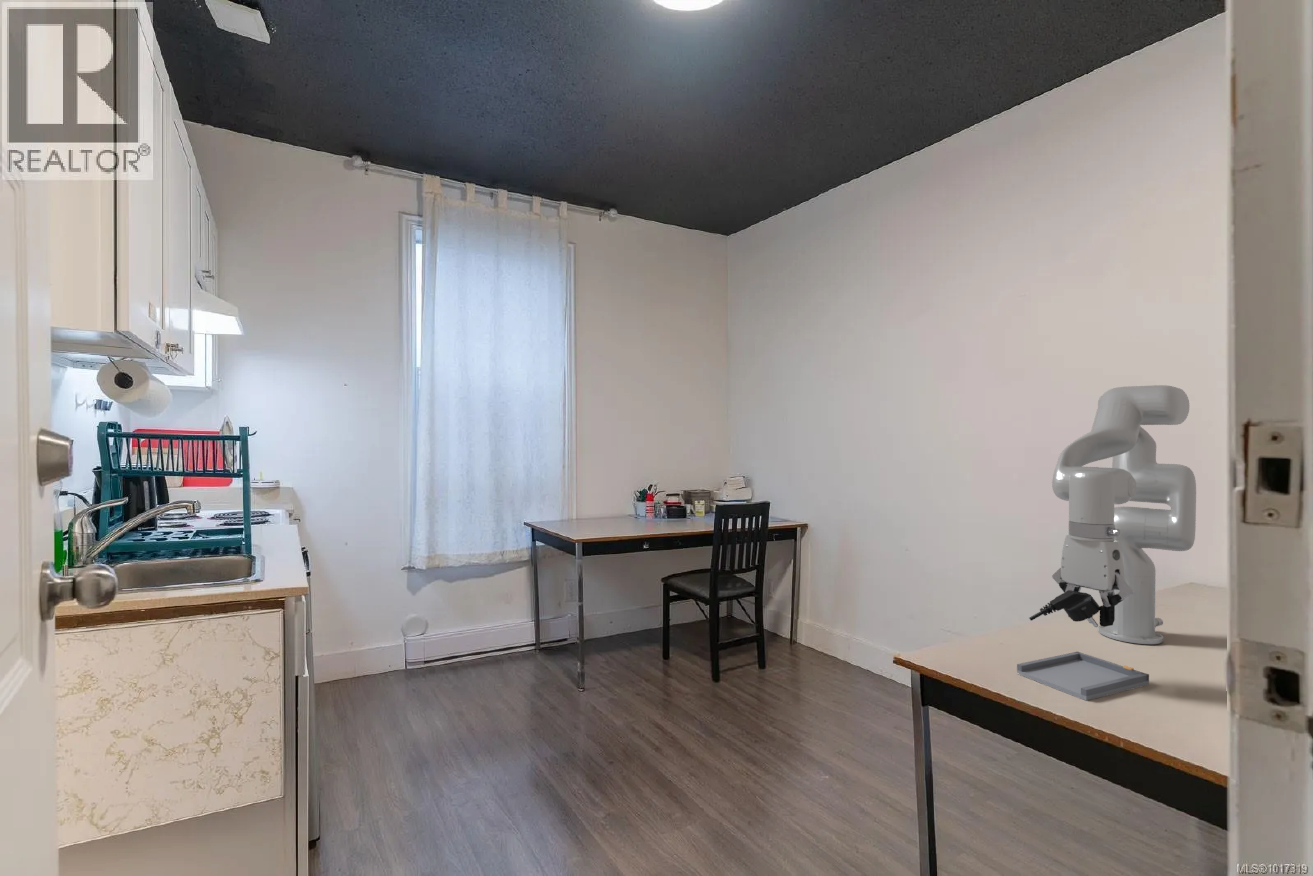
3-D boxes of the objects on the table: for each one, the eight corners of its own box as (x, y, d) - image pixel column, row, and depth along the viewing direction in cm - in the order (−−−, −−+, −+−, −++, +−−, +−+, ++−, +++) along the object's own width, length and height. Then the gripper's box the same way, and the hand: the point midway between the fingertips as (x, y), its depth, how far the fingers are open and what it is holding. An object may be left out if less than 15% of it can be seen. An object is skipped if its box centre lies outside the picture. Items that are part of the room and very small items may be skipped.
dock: (1077, 660, 137) (1077, 650, 137) (1148, 684, 124) (1148, 673, 124) (1016, 673, 129) (1017, 662, 129) (1086, 700, 116) (1086, 688, 116)
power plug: (1023, 611, 130) (1077, 581, 127) (1047, 643, 129) (1102, 613, 126) (1031, 620, 125) (1088, 588, 122) (1056, 652, 124) (1114, 622, 121)
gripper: (1150, 536, 119) (1149, 631, 119) (1061, 524, 135) (1060, 608, 135) (1125, 539, 116) (1124, 636, 116) (1037, 526, 132) (1036, 611, 132)
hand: (1090, 620), depth 126 cm, fingers closed on power plug, 5 cm apart
